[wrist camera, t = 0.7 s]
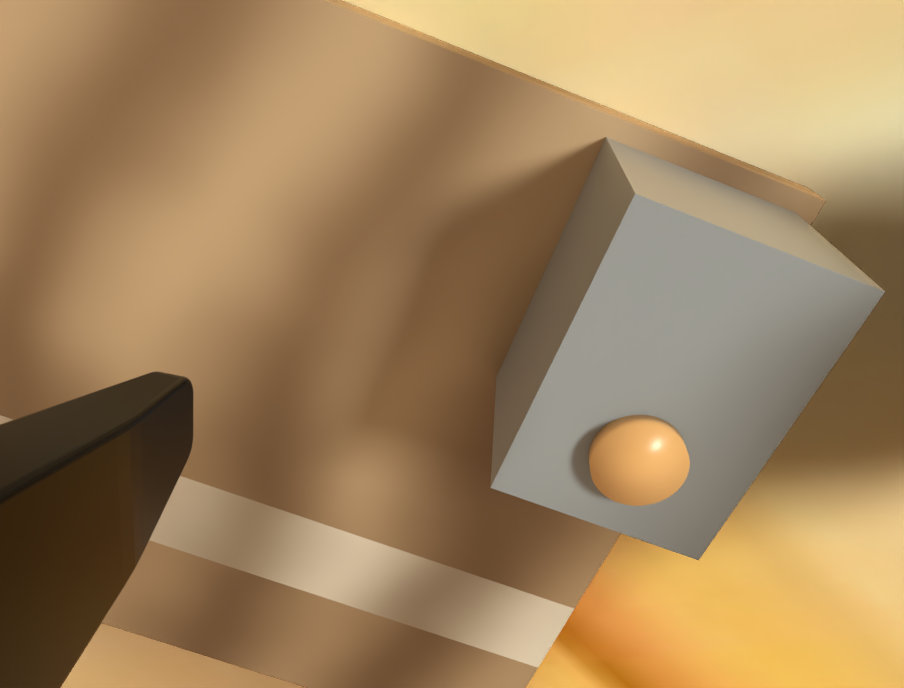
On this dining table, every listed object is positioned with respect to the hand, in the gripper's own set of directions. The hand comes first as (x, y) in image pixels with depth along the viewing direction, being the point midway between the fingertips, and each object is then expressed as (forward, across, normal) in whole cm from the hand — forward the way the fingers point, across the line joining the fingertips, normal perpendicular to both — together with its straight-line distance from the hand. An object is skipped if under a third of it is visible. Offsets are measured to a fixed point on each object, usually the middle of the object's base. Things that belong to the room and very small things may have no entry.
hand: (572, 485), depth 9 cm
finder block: (+11, -3, +2) cm, 12 cm away
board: (+12, +6, +8) cm, 16 cm away
